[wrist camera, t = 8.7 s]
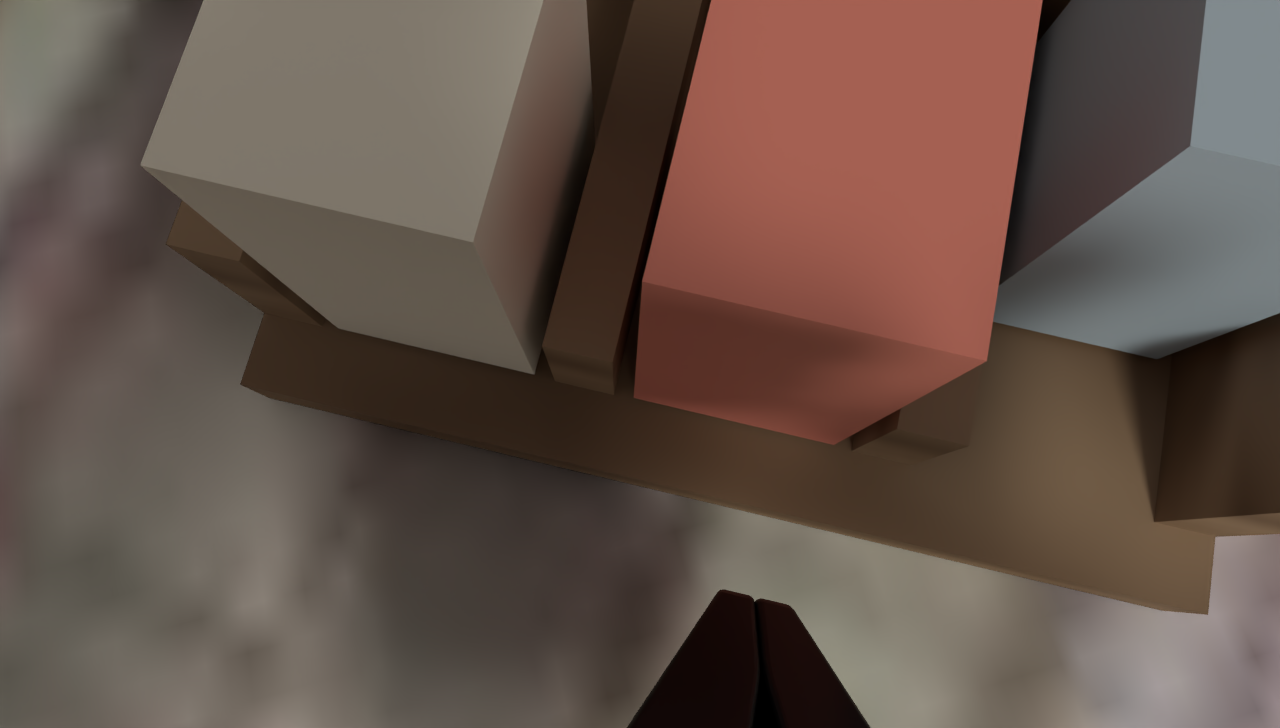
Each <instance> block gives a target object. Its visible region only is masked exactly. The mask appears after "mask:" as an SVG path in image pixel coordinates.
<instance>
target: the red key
mask: <svg viewBox="0 0 1280 728" xmlns="http://www.w3.org/2000/svg"><path fill="white" fill-rule="evenodd" d="M1042 1H1043V0H711V3H710V7H709V11H708V16H707V20H706V24H705V28H704V32H703V36H702V40H701V44H700V48H699V52H698V56H697V60H696V64H695V69H694V73H693V77H692V81H691V85H690V89H689V93H688V97H687V101H686V105H685V109H684V113H683V117H682V122H681V126H680V130H679V134H678V138H677V142H676V146H675V150H674V154H673V158H672V162H671V166H670V170H669V174H668V179H667V183H666V187H665V191H664V195H663V199H662V203H661V207H660V211H659V215H658V219H657V223H656V227H655V232H654V236H653V240H652V244H651V248H650V252H649V256H648V260H647V264H646V268H645V272H644V276H643V280H642V292H641V305H640V318H639V332H638V345H637V359H636V372H635V386H634V398H636V399H640V400H644V401H649V402H653V403H657V404H661V405H666V406H670V407H674V408H678V409H683V410H687V411H691V412H695V413H700V414H704V415H708V416H712V417H717V418H721V419H725V420H729V421H734V422H738V423H742V424H746V425H751V426H755V427H759V428H764V429H768V430H772V431H776V432H781V433H785V434H789V435H793V436H798V437H802V438H806V439H810V440H815V441H819V442H823V443H827V444H832V445H835V444H837V443H838V442H840V441H842V440H844V439H846V438H848V437H849V436H851V435H853V434H855V433H857V432H859V431H860V430H862V429H864V428H866V427H868V426H869V425H871V424H873V423H875V422H877V421H879V420H880V419H882V418H884V417H886V416H888V415H890V414H891V413H893V412H895V411H897V410H899V409H900V408H902V407H904V406H906V405H908V404H910V403H911V402H913V401H915V400H917V399H919V398H921V397H922V396H924V395H926V394H928V393H930V392H931V391H933V390H935V389H937V388H939V387H941V386H942V385H944V384H946V383H948V382H950V381H952V380H953V379H955V378H957V377H959V376H961V375H962V374H964V373H966V372H968V371H970V370H972V369H973V368H975V367H977V366H979V365H981V364H983V363H984V362H986V361H987V357H988V351H989V344H990V338H991V331H992V325H993V318H994V312H995V305H996V299H997V292H998V286H999V279H1000V273H1001V266H1002V260H1003V254H1004V247H1005V241H1006V234H1007V228H1008V221H1009V215H1010V208H1011V202H1012V195H1013V189H1014V182H1015V176H1016V169H1017V163H1018V156H1019V150H1020V143H1021V137H1022V130H1023V124H1024V117H1025V111H1026V105H1027V98H1028V92H1029V85H1030V79H1031V72H1032V66H1033V59H1034V53H1035V46H1036V40H1037V33H1038V27H1039V20H1040V14H1041V7H1042Z"/></svg>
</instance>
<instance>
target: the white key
mask: <svg viewBox="0 0 1280 728" xmlns="http://www.w3.org/2000/svg"><path fill="white" fill-rule="evenodd" d="M594 149H595V131H594V115H593V99H592V83H591V67H590V51H589V35H588V19H587V3H586V0H203V3H202V6H201V8H200V11H199V13H198V16H197V19H196V21H195V24H194V26H193V29H192V32H191V34H190V37H189V39H188V42H187V45H186V47H185V50H184V52H183V55H182V58H181V60H180V63H179V65H178V68H177V71H176V73H175V76H174V78H173V81H172V84H171V86H170V89H169V91H168V94H167V97H166V99H165V102H164V104H163V107H162V110H161V112H160V115H159V117H158V120H157V123H156V125H155V128H154V130H153V133H152V136H151V138H150V141H149V143H148V146H147V149H146V151H145V154H144V156H143V159H142V162H141V164H140V166H141V167H143V168H144V169H145V170H146V171H147V172H149V173H150V174H151V175H152V176H154V177H155V178H156V179H157V180H158V181H160V182H161V183H162V184H163V185H164V186H166V187H167V188H168V189H169V190H171V191H172V192H173V193H174V194H175V195H177V196H178V197H179V198H180V199H182V200H183V201H184V202H185V203H186V204H188V205H189V206H190V207H191V208H192V209H194V210H195V211H196V212H197V213H199V214H200V215H201V216H202V217H203V218H205V219H206V220H207V221H208V222H209V223H211V224H212V225H213V226H214V227H216V228H217V229H218V230H219V231H220V232H222V233H223V234H224V235H225V236H226V237H228V238H229V239H230V240H231V241H233V242H234V243H235V244H236V245H237V246H239V247H240V248H241V249H242V250H243V251H245V252H246V253H247V254H248V255H250V256H251V257H252V258H253V259H254V260H256V261H257V262H258V263H259V264H260V265H262V266H263V267H264V268H265V269H267V270H268V271H269V272H270V273H271V274H273V275H274V276H275V277H276V278H277V279H279V280H280V281H281V282H282V283H284V284H285V285H286V286H287V287H288V288H290V289H291V290H292V291H293V292H294V293H296V294H297V295H298V296H299V297H301V298H302V299H303V300H304V301H305V302H307V303H308V304H309V305H310V306H312V307H313V308H314V309H315V310H316V311H318V312H319V313H320V314H321V315H322V316H324V317H325V318H326V319H327V320H329V321H330V322H331V323H332V324H333V325H335V326H336V327H337V328H338V329H343V330H347V331H351V332H355V333H360V334H364V335H368V336H372V337H377V338H381V339H385V340H389V341H394V342H398V343H402V344H406V345H411V346H415V347H419V348H423V349H428V350H432V351H436V352H440V353H445V354H449V355H453V356H457V357H462V358H466V359H470V360H474V361H479V362H483V363H487V364H491V365H496V366H500V367H504V368H508V369H513V370H517V371H521V372H525V373H530V374H535V371H536V367H537V363H538V359H539V356H540V352H541V348H542V344H543V340H544V336H545V332H546V329H547V325H548V321H549V317H550V314H551V310H552V306H553V302H554V299H555V295H556V291H557V287H558V284H559V280H560V276H561V272H562V269H563V265H564V261H565V257H566V254H567V250H568V246H569V242H570V239H571V235H572V231H573V227H574V224H575V220H576V216H577V212H578V209H579V205H580V201H581V197H582V194H583V190H584V186H585V182H586V179H587V175H588V171H589V167H590V164H591V160H592V156H593V152H594Z"/></svg>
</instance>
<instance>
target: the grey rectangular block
mask: <svg viewBox="0 0 1280 728" xmlns="http://www.w3.org/2000/svg"><path fill="white" fill-rule="evenodd" d="M1278 313H1280V0H1071V1H1070V2H1069V4H1068V5H1067V6H1066V7H1065V9H1064V10H1063V11H1062V12H1061V14H1060V15H1059V16H1058V17H1057V19H1056V20H1055V21H1054V22H1053V24H1052V25H1051V26H1050V27H1049V29H1048V30H1047V31H1046V32H1045V34H1044V35H1043V36H1042V37H1041V39H1040V40H1039V41H1038V42H1037V44H1036V46H1035V53H1034V59H1033V66H1032V72H1031V79H1030V85H1029V92H1028V98H1027V105H1026V111H1025V117H1024V124H1023V130H1022V137H1021V143H1020V150H1019V156H1018V163H1017V169H1016V176H1015V182H1014V189H1013V195H1012V202H1011V208H1010V215H1009V221H1008V228H1007V234H1006V241H1005V247H1004V254H1003V260H1002V266H1001V273H1000V279H999V286H998V292H997V299H996V305H995V312H994V318H993V322H997V323H1001V324H1005V325H1010V326H1014V327H1019V328H1023V329H1027V330H1032V331H1036V332H1040V333H1045V334H1049V335H1053V336H1058V337H1062V338H1066V339H1071V340H1075V341H1079V342H1084V343H1088V344H1093V345H1097V346H1101V347H1106V348H1110V349H1114V350H1119V351H1123V352H1127V353H1132V354H1136V355H1140V356H1145V357H1149V358H1153V359H1159V358H1162V357H1165V356H1167V355H1170V354H1172V353H1175V352H1178V351H1180V350H1183V349H1186V348H1188V347H1191V346H1194V345H1196V344H1199V343H1202V342H1204V341H1207V340H1210V339H1212V338H1215V337H1217V336H1220V335H1223V334H1225V333H1228V332H1231V331H1233V330H1236V329H1239V328H1241V327H1244V326H1247V325H1249V324H1252V323H1255V322H1257V321H1260V320H1263V319H1265V318H1268V317H1270V316H1273V315H1276V314H1278Z"/></svg>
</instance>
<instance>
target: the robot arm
mask: <svg viewBox="0 0 1280 728" xmlns="http://www.w3.org/2000/svg"><path fill="white" fill-rule="evenodd" d="M627 728H870V726H869V725H868V723H867V722H866V720H865V719H864V717H863V715H862V714H861V712H860V711H859V709H858V708H857V706H856V705H855V703H854V702H853V700H852V699H851V697H850V695H849V694H848V692H847V691H846V689H845V688H844V686H843V685H842V683H841V682H840V680H839V679H838V677H837V675H836V674H835V672H834V671H833V669H832V668H831V666H830V665H829V663H828V662H827V660H826V659H825V657H824V655H823V654H822V652H821V651H820V649H819V648H818V646H817V645H816V643H815V642H814V640H813V639H812V637H811V635H810V634H809V632H808V631H807V629H806V628H805V626H804V625H803V623H802V622H801V620H800V619H799V617H798V615H797V614H796V612H795V611H794V610H793V609H792V608H791V607H790V606H789V605H787V604H782V603H778V602H774V601H770V600H766V599H758V600H756V601H755V602H754V599H753V598H752V597H751V596H749V595H745V594H741V593H736V592H732V591H728V590H720V591H718V592H717V594H716V595H715V597H714V598H713V600H712V601H711V603H710V604H709V606H708V607H707V609H706V610H705V612H704V613H703V615H702V616H701V618H700V619H699V621H698V622H697V624H696V625H695V627H694V628H693V630H692V631H691V633H690V634H689V636H688V637H687V639H686V640H685V642H684V643H683V644H682V646H681V647H680V649H679V650H678V652H677V653H676V655H675V656H674V658H673V659H672V661H671V662H670V664H669V665H668V667H667V668H666V670H665V671H664V673H663V674H662V676H661V677H660V679H659V680H658V682H657V683H656V685H655V686H654V688H653V689H652V691H651V692H650V694H649V695H648V697H647V698H646V700H645V701H644V703H643V704H642V706H641V707H640V709H639V710H638V712H637V713H636V715H635V716H634V718H633V719H632V721H631V722H630V724H629V725H628V727H627Z"/></svg>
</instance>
